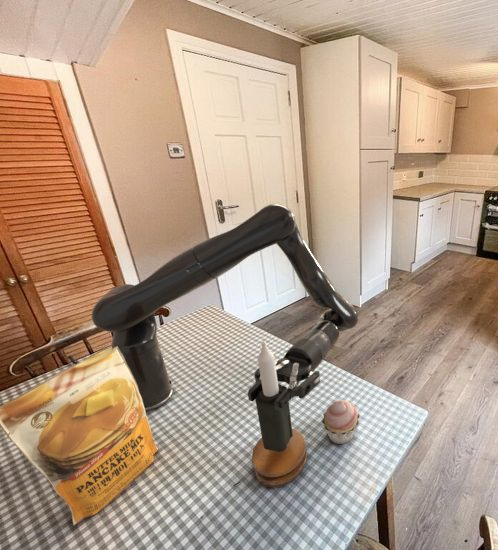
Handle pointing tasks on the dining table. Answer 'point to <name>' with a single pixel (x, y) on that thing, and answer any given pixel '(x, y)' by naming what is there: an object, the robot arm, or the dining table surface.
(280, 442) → the candle
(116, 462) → the pancake mix bag
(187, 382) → the dining table surface
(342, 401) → the cupcake
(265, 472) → the coaster pile
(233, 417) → the dining table surface
